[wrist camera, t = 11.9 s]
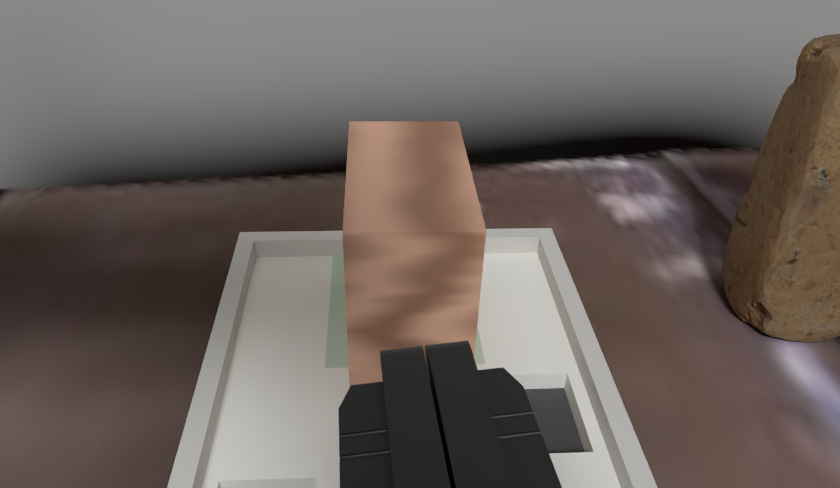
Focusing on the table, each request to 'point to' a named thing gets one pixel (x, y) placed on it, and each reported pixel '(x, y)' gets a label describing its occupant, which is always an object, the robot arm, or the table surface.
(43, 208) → the table surface
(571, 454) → the box
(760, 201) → the block
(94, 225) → the table surface
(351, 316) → the terracotta block
